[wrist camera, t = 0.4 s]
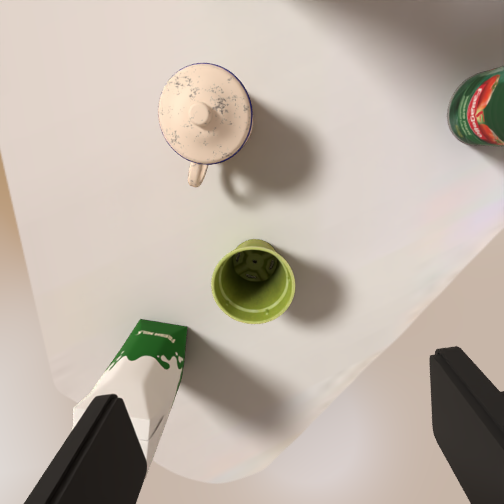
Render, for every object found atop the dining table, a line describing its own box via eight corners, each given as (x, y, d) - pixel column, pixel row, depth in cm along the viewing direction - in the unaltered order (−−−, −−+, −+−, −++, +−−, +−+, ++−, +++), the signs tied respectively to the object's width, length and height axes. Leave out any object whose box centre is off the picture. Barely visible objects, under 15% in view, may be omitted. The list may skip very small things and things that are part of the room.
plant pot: (298, 234, 45) (304, 256, 37) (281, 298, 48) (284, 331, 40) (227, 219, 45) (219, 238, 37) (215, 284, 48) (205, 315, 40)
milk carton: (131, 363, 53) (55, 490, 34) (134, 311, 50) (53, 418, 31) (188, 372, 53) (144, 504, 34) (194, 321, 50) (150, 433, 31)
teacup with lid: (189, 67, 40) (158, 40, 29) (265, 91, 40) (264, 74, 29) (167, 170, 43) (133, 181, 32) (237, 191, 44) (226, 209, 33)
